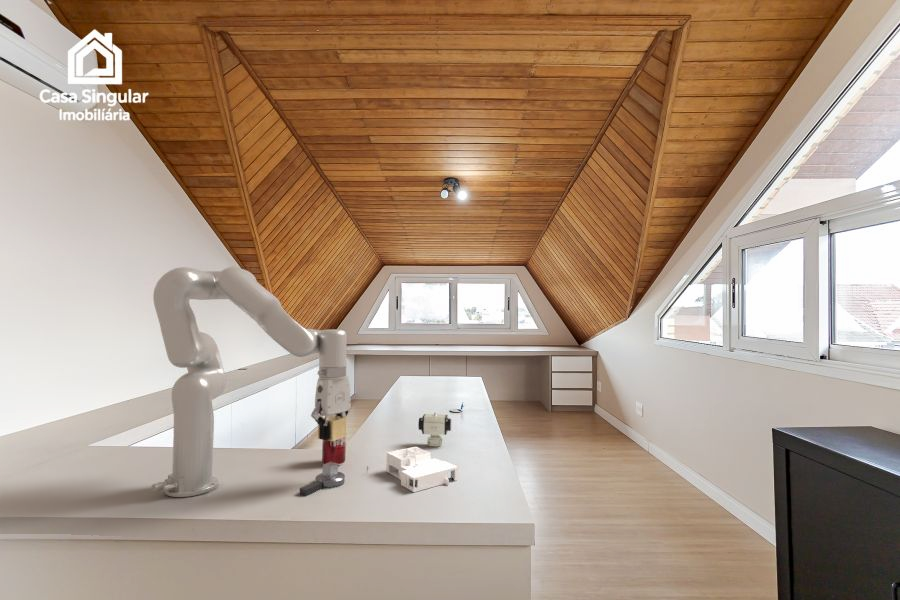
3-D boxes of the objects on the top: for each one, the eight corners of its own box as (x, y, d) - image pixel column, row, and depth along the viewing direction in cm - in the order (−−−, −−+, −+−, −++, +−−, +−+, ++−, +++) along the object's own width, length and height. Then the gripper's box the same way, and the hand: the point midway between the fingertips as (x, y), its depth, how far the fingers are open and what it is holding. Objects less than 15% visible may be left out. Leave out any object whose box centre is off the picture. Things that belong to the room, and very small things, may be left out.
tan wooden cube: (332, 441, 122) (332, 421, 122) (318, 438, 125) (318, 419, 125) (345, 436, 127) (346, 417, 127) (331, 434, 129) (332, 415, 129)
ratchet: (313, 498, 114) (314, 477, 115) (292, 492, 118) (292, 472, 118) (350, 481, 127) (350, 462, 127) (329, 476, 131) (330, 457, 131)
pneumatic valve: (420, 443, 165) (420, 410, 166) (451, 444, 164) (451, 411, 165) (417, 447, 160) (418, 414, 160) (449, 448, 159) (450, 415, 159)
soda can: (317, 464, 140) (317, 426, 141) (333, 458, 147) (333, 421, 147) (334, 468, 137) (335, 429, 137) (350, 461, 143) (350, 424, 144)
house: (366, 473, 133) (367, 453, 134) (417, 461, 145) (417, 442, 145) (406, 497, 116) (406, 474, 116) (460, 482, 127) (461, 461, 127)
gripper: (320, 377, 117) (319, 446, 116) (362, 370, 132) (362, 431, 131) (300, 375, 121) (299, 442, 120) (343, 368, 136) (343, 428, 135)
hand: (332, 436), depth 126 cm, fingers closed on tan wooden cube, 5 cm apart
